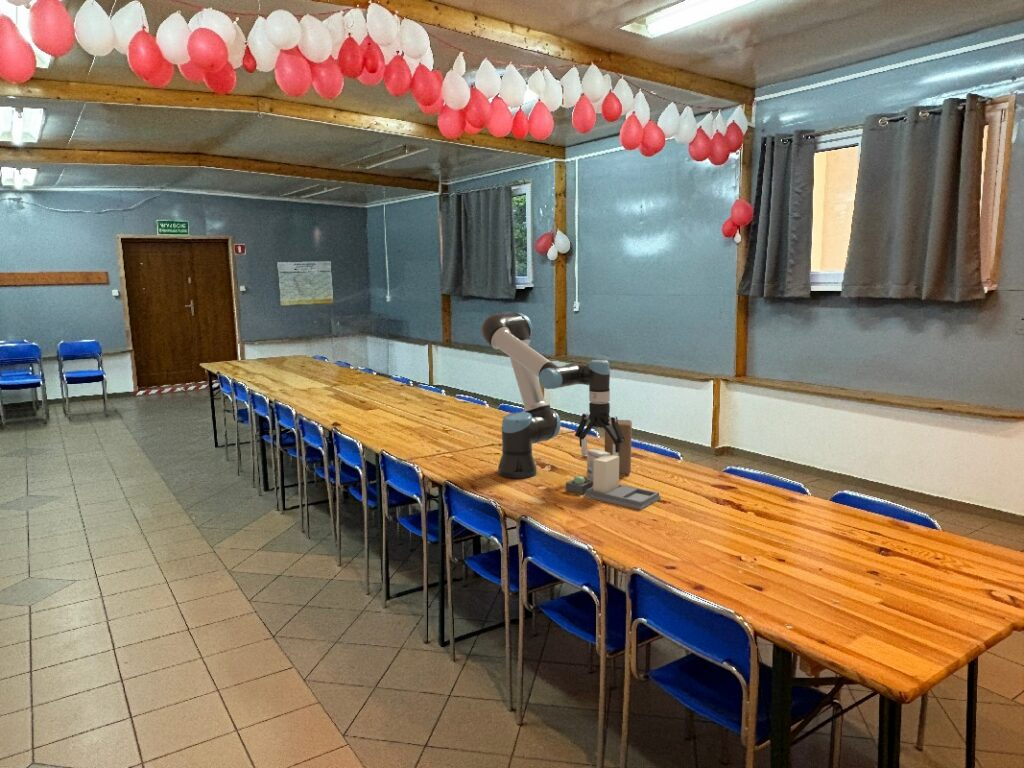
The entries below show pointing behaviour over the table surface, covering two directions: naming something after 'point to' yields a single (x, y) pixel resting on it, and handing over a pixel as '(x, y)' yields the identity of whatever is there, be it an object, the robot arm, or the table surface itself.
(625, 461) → the block
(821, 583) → the table surface
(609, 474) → the billet
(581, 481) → the button
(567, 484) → the dark grey square tray
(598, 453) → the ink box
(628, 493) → the pallet
